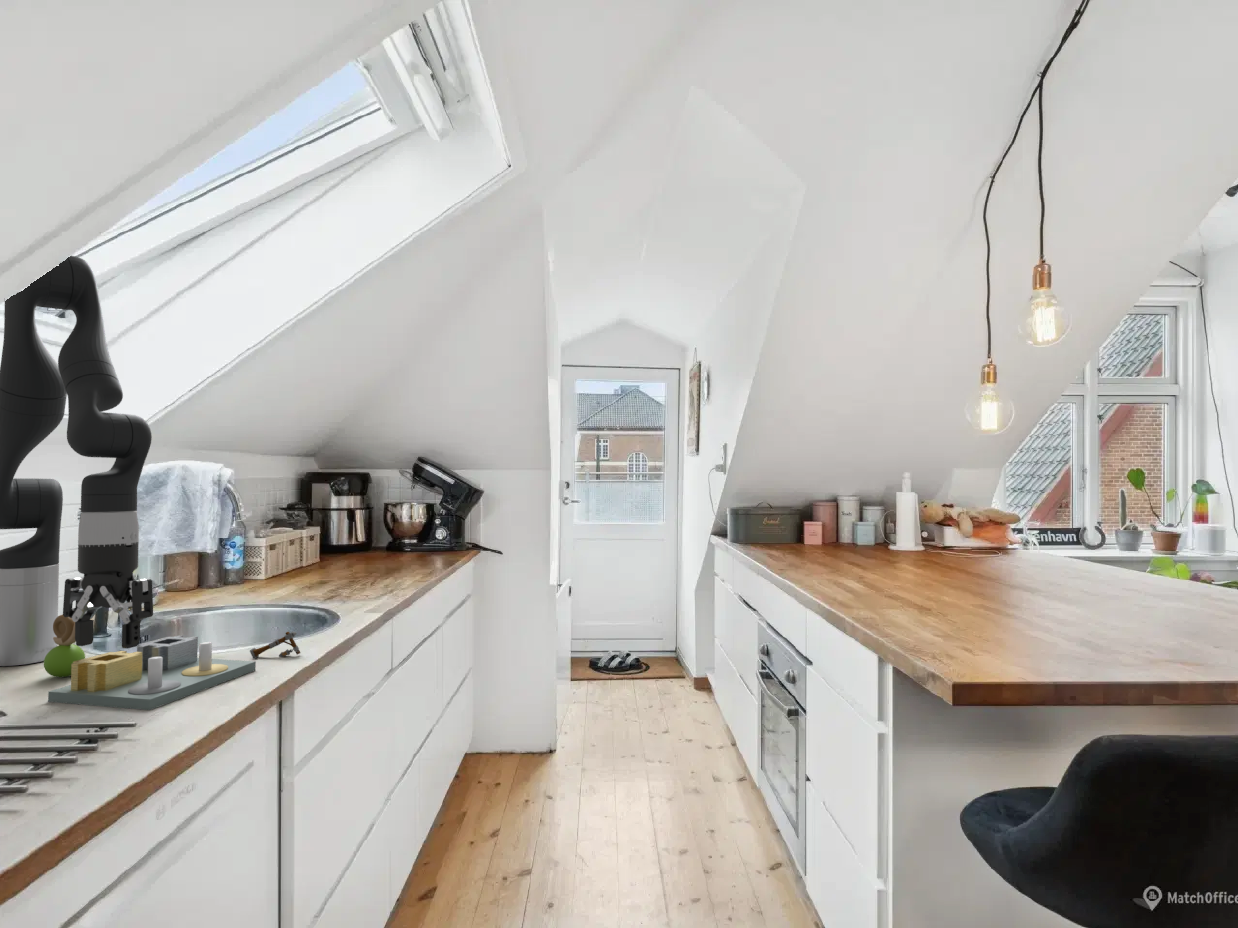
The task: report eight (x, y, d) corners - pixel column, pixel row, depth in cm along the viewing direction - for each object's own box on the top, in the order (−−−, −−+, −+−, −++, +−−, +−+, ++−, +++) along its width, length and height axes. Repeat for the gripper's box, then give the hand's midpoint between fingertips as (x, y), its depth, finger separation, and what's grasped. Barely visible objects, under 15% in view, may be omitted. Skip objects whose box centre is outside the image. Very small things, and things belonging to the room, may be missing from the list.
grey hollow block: (132, 670, 113) (132, 645, 113) (172, 657, 121) (173, 635, 121) (162, 672, 112) (163, 647, 112) (201, 659, 119) (202, 636, 120)
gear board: (48, 701, 101) (49, 661, 102) (167, 664, 122) (168, 630, 122) (149, 709, 98) (150, 667, 98) (255, 670, 118) (255, 635, 119)
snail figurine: (64, 682, 111) (66, 608, 111) (34, 680, 112) (36, 607, 113) (97, 673, 116) (99, 603, 116) (68, 671, 118) (70, 601, 118)
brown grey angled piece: (303, 652, 128) (292, 629, 127) (259, 672, 126) (248, 649, 126) (306, 649, 129) (295, 627, 129) (263, 669, 128) (252, 647, 128)
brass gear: (65, 690, 102) (66, 663, 102) (115, 675, 110) (115, 650, 110) (99, 692, 101) (99, 665, 101) (146, 677, 109) (147, 652, 109)
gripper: (47, 542, 103) (45, 650, 103) (124, 543, 101) (123, 653, 100) (94, 538, 111) (92, 639, 110) (168, 539, 108) (166, 642, 107)
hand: (107, 646), depth 105 cm, fingers open, 8 cm apart
